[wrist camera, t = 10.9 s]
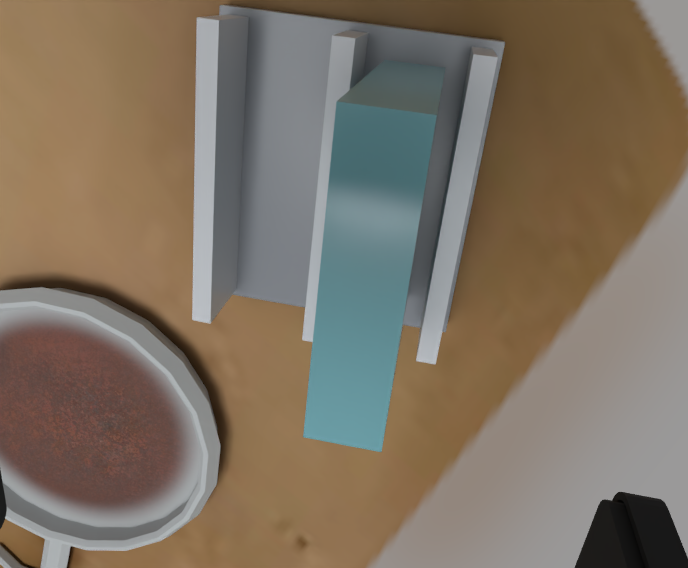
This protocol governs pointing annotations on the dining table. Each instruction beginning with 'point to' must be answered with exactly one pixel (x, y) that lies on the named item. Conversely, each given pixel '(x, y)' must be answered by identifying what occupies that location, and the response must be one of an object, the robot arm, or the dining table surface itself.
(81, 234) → the dining table surface
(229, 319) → the dining table surface
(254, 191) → the dish rack
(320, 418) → the teal upright slab
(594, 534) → the robot arm
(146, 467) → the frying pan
